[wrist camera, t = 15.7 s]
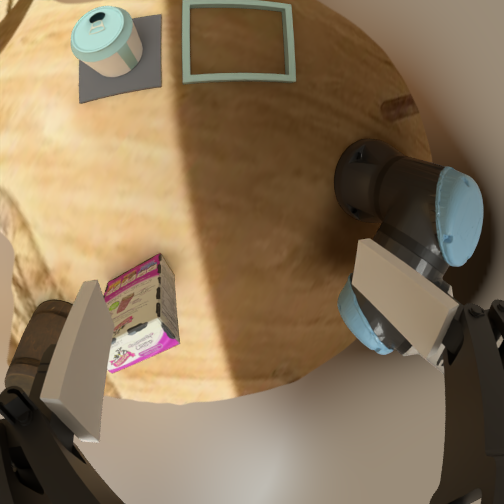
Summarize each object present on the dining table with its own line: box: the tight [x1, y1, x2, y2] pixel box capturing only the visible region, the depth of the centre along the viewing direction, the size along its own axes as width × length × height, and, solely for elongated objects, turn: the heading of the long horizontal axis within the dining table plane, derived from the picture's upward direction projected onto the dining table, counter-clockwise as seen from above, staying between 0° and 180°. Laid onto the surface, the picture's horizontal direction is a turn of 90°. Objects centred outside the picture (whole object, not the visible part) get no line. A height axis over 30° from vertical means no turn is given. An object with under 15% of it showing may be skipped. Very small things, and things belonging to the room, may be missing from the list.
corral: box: [182, 0, 296, 84], centre depth 29 cm, size 16×14×2 cm
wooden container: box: [5, 300, 73, 397], centre depth 32 cm, size 15×15×22 cm
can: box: [71, 6, 143, 77], centre depth 21 cm, size 7×7×12 cm
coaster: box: [79, 14, 161, 104], centre depth 26 cm, size 12×12×1 cm
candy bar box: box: [103, 254, 180, 374], centre depth 35 cm, size 11×5×16 cm, turn 112°
